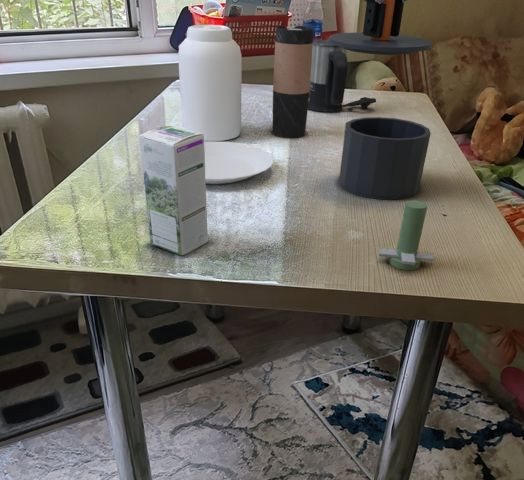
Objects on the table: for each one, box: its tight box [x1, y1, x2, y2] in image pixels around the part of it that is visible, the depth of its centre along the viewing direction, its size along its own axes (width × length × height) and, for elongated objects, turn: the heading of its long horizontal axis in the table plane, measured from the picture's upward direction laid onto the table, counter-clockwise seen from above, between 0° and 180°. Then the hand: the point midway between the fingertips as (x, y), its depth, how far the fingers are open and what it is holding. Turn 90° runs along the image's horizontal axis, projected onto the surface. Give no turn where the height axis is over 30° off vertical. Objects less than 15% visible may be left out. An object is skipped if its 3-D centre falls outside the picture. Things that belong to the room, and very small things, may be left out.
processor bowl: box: [338, 116, 432, 200], centre depth 92 cm, size 14×14×10 cm
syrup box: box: [139, 125, 209, 257], centre depth 69 cm, size 6×6×14 cm
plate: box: [204, 141, 275, 185], centre depth 97 cm, size 21×21×2 cm
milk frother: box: [308, 39, 377, 112], centre depth 134 cm, size 14×16×15 cm
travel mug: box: [272, 25, 315, 139], centre depth 113 cm, size 8×8×20 cm
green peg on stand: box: [378, 199, 435, 271], centre depth 69 cm, size 7×7×8 cm
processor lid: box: [327, 0, 433, 56], centre depth 76 cm, size 15×15×6 cm
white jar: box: [177, 24, 243, 142], centre depth 111 cm, size 12×12×20 cm
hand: (380, 34), depth 77 cm, fingers closed on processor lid, 2 cm apart
